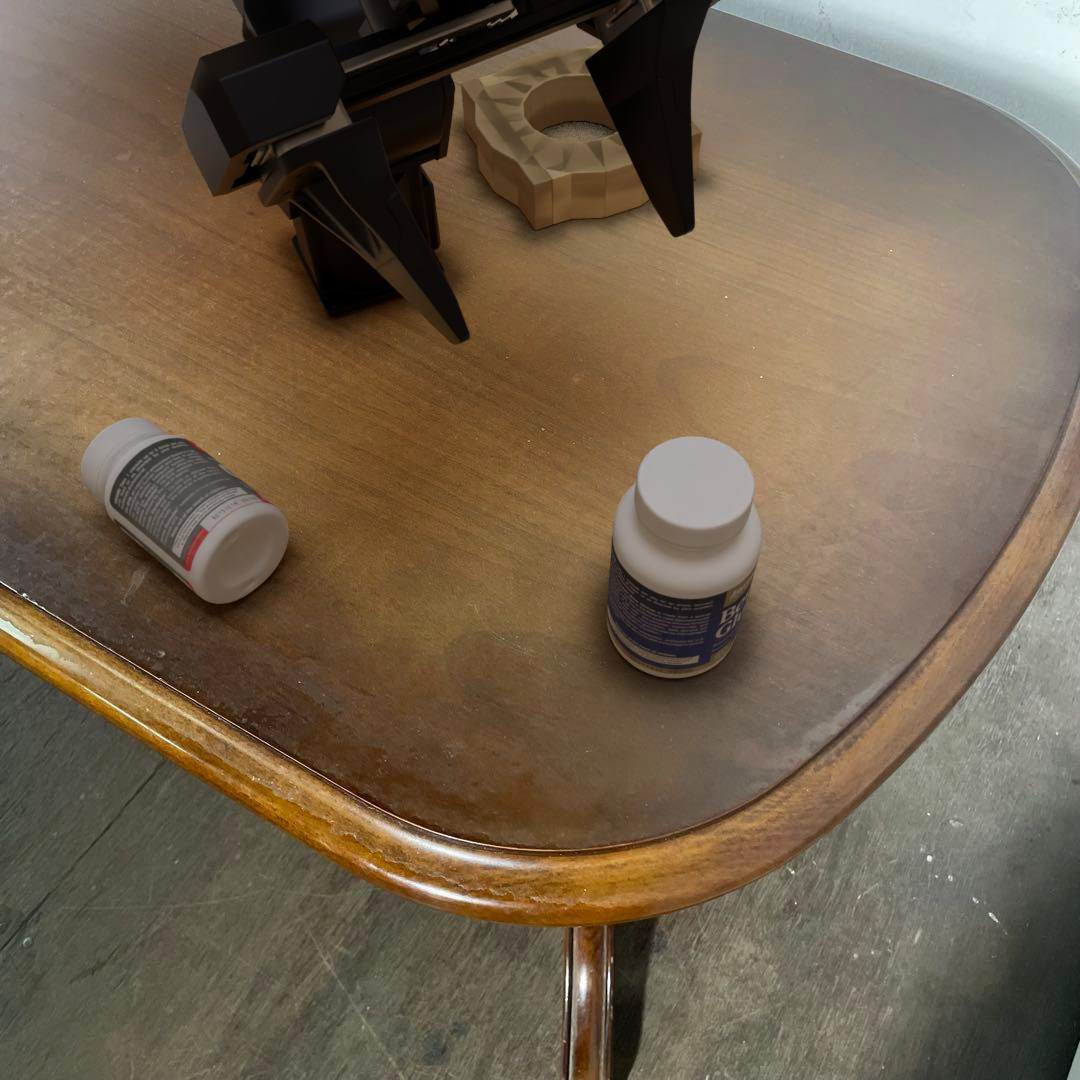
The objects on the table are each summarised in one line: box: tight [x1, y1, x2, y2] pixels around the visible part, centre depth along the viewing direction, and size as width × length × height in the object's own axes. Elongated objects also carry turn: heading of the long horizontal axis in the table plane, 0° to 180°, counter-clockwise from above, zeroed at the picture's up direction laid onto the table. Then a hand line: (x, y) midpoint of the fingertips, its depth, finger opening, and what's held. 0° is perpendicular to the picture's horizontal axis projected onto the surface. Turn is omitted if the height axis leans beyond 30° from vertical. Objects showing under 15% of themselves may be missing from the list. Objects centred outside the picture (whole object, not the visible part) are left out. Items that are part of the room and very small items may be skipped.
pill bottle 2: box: [606, 435, 763, 679], centre depth 39 cm, size 5×5×10 cm
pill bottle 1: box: [79, 417, 290, 605], centre depth 44 cm, size 5×5×8 cm
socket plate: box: [460, 42, 703, 231], centre depth 60 cm, size 11×11×3 cm
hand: (577, 286), depth 36 cm, fingers open, 9 cm apart
